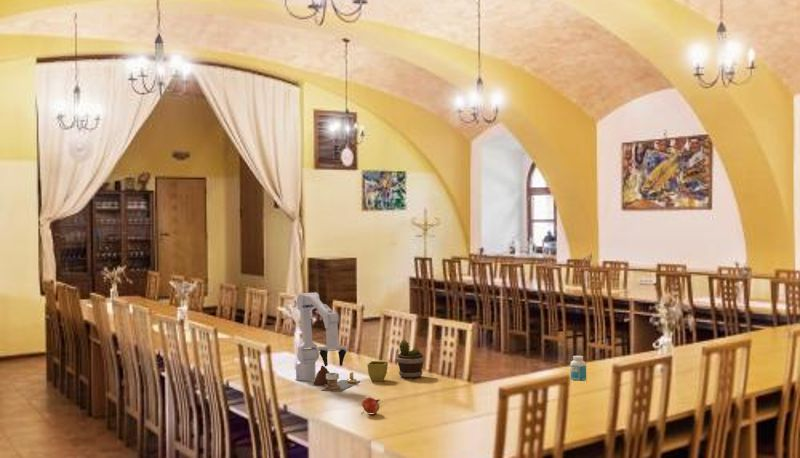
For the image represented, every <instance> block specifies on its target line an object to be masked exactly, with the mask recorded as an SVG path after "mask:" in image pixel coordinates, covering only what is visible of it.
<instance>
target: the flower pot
mask: <svg viewBox="0 0 800 458" xmlns="http://www.w3.org/2000/svg"><path fill="white" fill-rule="evenodd" d="M388 362H389V361H382V360H380V361H377V360H371V361H369V362H368V363H367V364H366V365H367V371H368V372H367V374H368V376H369V379H370V381H371V382H383V381H384V380H385V379H386V378H385V377H386V375H387V374H388V373H387V371H388V365H389V363H388Z"/></svg>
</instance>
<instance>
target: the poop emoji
mask: <svg viewBox="0 0 800 458" xmlns="http://www.w3.org/2000/svg"><path fill="white" fill-rule="evenodd" d="M327 373H331V372H330V371H329V369H328V368H327V366H325V365H320V370H318V372H316V379H315V380H313V384H314V385H315V386H319V387H322V386H326V385H328V379H326V374H327Z"/></svg>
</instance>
